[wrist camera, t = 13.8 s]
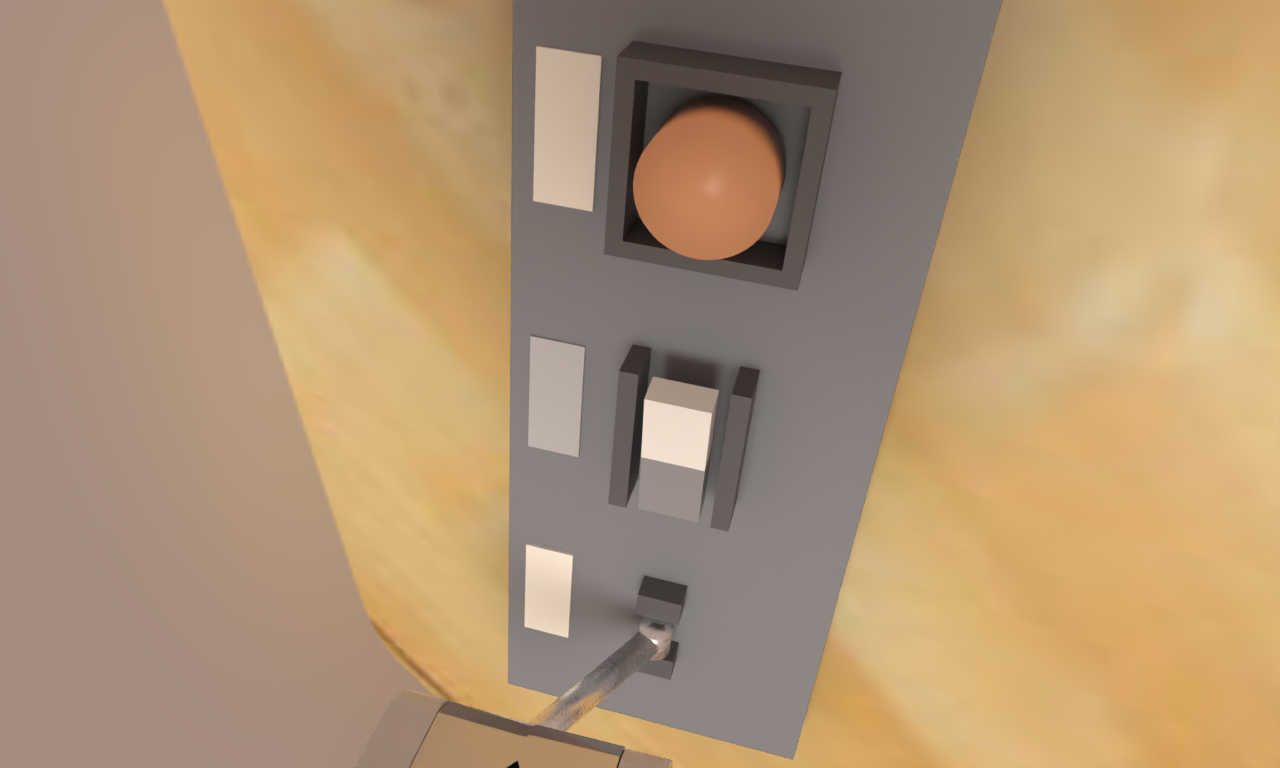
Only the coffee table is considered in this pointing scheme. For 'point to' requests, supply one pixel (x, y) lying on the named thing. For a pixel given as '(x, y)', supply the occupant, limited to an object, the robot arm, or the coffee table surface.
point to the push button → (710, 179)
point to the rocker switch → (676, 448)
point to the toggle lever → (608, 675)
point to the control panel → (715, 334)
